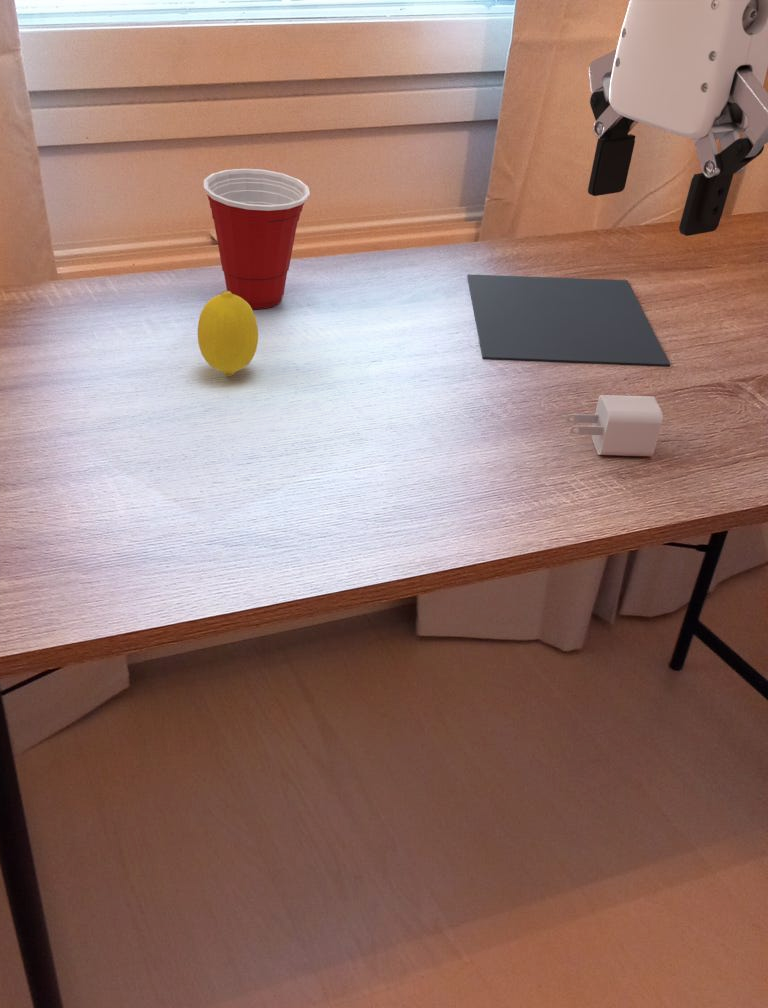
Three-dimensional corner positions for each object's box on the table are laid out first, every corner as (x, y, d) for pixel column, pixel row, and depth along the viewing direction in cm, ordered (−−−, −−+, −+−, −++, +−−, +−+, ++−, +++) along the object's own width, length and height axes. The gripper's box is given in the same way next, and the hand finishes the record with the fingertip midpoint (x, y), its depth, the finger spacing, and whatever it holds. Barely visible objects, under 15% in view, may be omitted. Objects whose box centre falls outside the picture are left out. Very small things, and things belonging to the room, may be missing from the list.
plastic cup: (274, 328, 104) (275, 206, 97) (187, 306, 108) (181, 187, 101) (325, 293, 112) (329, 177, 104) (241, 274, 116) (239, 161, 108)
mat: (670, 366, 98) (670, 364, 98) (482, 358, 99) (483, 356, 99) (626, 281, 115) (627, 280, 115) (467, 276, 116) (467, 274, 116)
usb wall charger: (651, 459, 85) (663, 416, 82) (568, 457, 85) (577, 413, 82) (641, 436, 88) (652, 393, 85) (560, 433, 88) (569, 390, 85)
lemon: (270, 376, 96) (270, 292, 91) (226, 394, 93) (223, 308, 88) (231, 357, 99) (229, 275, 94) (187, 374, 96) (182, 290, 91)
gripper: (873, -54, 60) (777, 241, 71) (664, -84, 72) (609, 174, 83) (782, -50, 57) (697, 257, 68) (581, -81, 69) (535, 185, 80)
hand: (649, 211), depth 75 cm, fingers open, 9 cm apart
